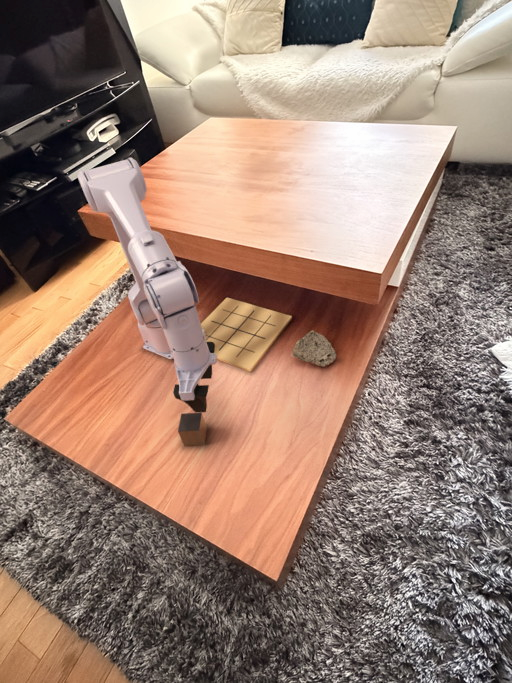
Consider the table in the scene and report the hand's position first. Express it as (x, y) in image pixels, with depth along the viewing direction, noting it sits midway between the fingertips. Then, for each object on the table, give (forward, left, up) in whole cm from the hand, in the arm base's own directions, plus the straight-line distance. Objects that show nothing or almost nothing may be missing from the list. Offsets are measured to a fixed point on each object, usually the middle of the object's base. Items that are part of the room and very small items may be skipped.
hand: (203, 393), depth 71 cm
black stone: (-1, -4, -10) cm, 10 cm away
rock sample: (+11, +26, -10) cm, 30 cm away
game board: (-10, +25, -10) cm, 29 cm away
